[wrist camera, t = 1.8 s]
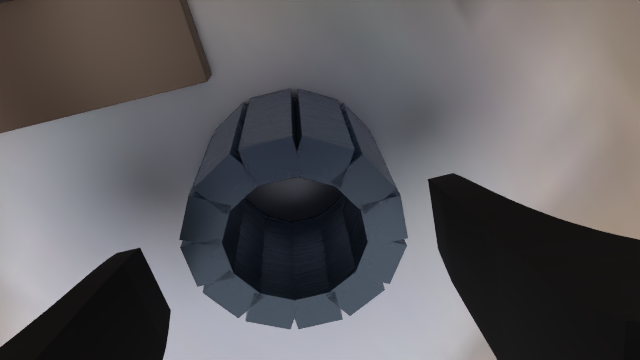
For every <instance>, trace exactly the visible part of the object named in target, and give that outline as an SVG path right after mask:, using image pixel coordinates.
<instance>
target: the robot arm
mask: <svg viewBox="0 0 640 360" xmlns="http://www.w3.org/2000/svg"><path fill="white" fill-rule="evenodd" d="M428 182H429V189H430V196H431V203H432V210H433V217H434V223H435V230H436V237H437V244H438V250H439V252H440V254H441V257H442V259H443V262H444V264H445V267H446V269H447V271H448V274H449V276H450V278H451V281H452V283H453V285H454V286H455V288H456V290H457V292H458V293H459V295H460V297H461V298H462V300H463V302H464V304H465V305H466V307H467V309H468V310H469V312H470V314H471V316H472V317H473V319H474V321H475V322H476V324H477V326H478V327H479V329H480V331H481V333H482V334H483V336H484V338H485V339H486V341H487V343H488V344H489V346H490V348H491V349H492V351H493V353H494V355H495V356H496V358H497V360H640V240H638V239H633V238H629V237H624V236H619V235H615V234H611V233H607V232H603V231H599V230H595V229H592V228H588V227H585V226H581V225H578V224H574V223H571V222H568V221H565V220H562V219H559V218H556V217H553V216H550V215H547V214H545V213H542V212H539V211H537V210H534V209H532V208H529V207H526V206H524V205H522V204H519V203H517V202H515V201H512V200H510V199H508V198H505V197H503V196H501V195H499V194H497V193H495V192H492V191H490V190H488V189H486V188H484V187H482V186H480V185H478V184H476V183H474V182H472V181H470V180H468V179H465V178H463V177H461V176H459V175H457V174H454V173H452V174H448V175H444V176H439V177H435V178H431V179H428ZM170 312H171V310H170V308H169V306H168V304H167V302H166V300H165V298H164V296H163V294H162V292H161V290H160V288H159V286H158V284H157V281H156V279H155V277H154V275H153V273H152V271H151V269H150V267H149V265H148V263H147V261H146V259H145V257H144V255H143V253H142V251H141V249H140V248H137V249H133V250H128V251H124V252H120V253H116V254H115V255H113V256H112V257H110V258H109V259H107V260H106V261H105V262H103V263H102V264H101V265H100V266H98V267H97V268H96V269H95V270H93V271H92V272H91V273H90V274H89V275H87V276H86V277H85V278H84V279H83V280H82V281H80V282H79V283H78V284H77V285H76V286H75V287H73V288H72V289H71V290H70V291H69V292H68V293H66V294H65V295H64V296H63V297H62V298H61V299H59V300H58V301H57V302H56V303H55V304H54V305H52V306H51V307H50V308H49V309H48V310H46V311H45V312H44V313H43V314H41V315H40V316H39V317H38V318H36V319H35V320H34V321H33V322H32V323H30V324H29V325H28V326H27V327H25V328H24V329H23V330H22V331H20V332H19V333H18V334H17V335H15V336H14V337H13V338H12V339H10V340H9V341H8V342H6V343H5V344H4V345H3V346H1V347H0V360H163V356H164V353H165V349H166V343H167V337H168V330H169V321H170Z"/></svg>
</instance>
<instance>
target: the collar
mask: <svg viewBox="0 0 640 360" xmlns="http://www.w3.org/2000/svg"><path fill="white" fill-rule="evenodd" d="M293 177H300V178H304V179H308V180H312V181H316V182H320V183H324V184H328V185H333V186H335V187H336V188H338V189H339V190H340V191H341V192H342V194H341V197H340V199H339V200H338V201H337V202H335V203H334V204H333V205H332V206H331V207H330V208H328V209H327V210H326V211H325V212H324V213H322V214H321V215H320V216H317V217H313V218H309V219H305V220H300V221H296V222H289V221H285V220H280V219H276V218H272V217H267V216H265V215H264V214H263V213H261V212H260V211H259V210H258V209H257V208H256V207H254V206H253V205H252V204H251V203H250V202H248V201H247V200H246V199H245V197H246V196H247V195H248V194H249V193H250V192H251V191H252V190H254V189H255V188H256V187H257V186H260V185H264V184H268V183H272V182H276V181H281V180H285V179H289V178H293ZM406 238H408V236H407V230H406V225H405V219H404V213H403V208H402V202H401V196H400V194H399V192H398V190H397V187H396V185H395V183H394V181H393V179H392V177H391V175H390V173H389V170H388V168H387V166H386V164H385V162H384V160H383V158H382V156H381V153H380V151H379V149H378V147H377V145H376V143H375V141H374V138H373V137H372V135H371V133H370V131H369V130H368V129H367V128H366V127H365V125H364V124H363V123H362V122H361V121H360V120H359V119H358V118H357V117H356V116H355V115H354V114H353V113H352V112H351V111H350V110H349V109H348V108H347V107H346V106H345V104H344V103H343V104H342V105H341V106H339V103H338V100H337V99H333V98H329V97H326V96H322V95H319V94H315V93H312V92H308V91H304V90H301V89H298V90H297V93H296V97H295V100H294V101H293V97H292V93H291V89H286V90H282V91H278V92H274V93H270V94H266V95H262V96H258V97H254V98H250V101H249V105H248V106H247V105H246V104H245V103H244V102H243V103H242V104H241V105H240V106H239V107H238V108H237V109H236V110H235V111H234V112H233V113H232V114H231V115H230V116H229V117H228V118H227V119H226V120H225V121H224V122H223V123H222V124H221V125H220V126H219V127H218V128H217V129H216V130H215V133H214V135H212V138H211V140H210V143H209V145H208V148H207V151H206V153H205V156H204V158H203V161H202V163H201V166H200V168H199V171H198V173H197V176H196V178H195V181H194V183H193V186H192V188H191V191H190V194H189V196H188V201H187V206H186V211H185V215H184V220H183V225H182V230H181V234H180V239H179V240H183V241H182V244H181V247H180V248H181V250H182V253H183V255H184V257H185V259H186V262H187V264H188V266H189V268H190V271H191V273H192V275H193V277H194V280H195V282H196V284H197V287H198V286H202V285H204V288H203V293H204V294H205V295H207V296H208V297H209V298H211V299H212V300H214V301H215V302H216V303H218V304H219V305H221V306H222V307H223V308H225V309H226V310H228V311H229V312H230V313H232V314H233V315H235V316H236V317H237V318H239V317H240V316H241V315H243V314H244V313H245V312H246V311H247V314H246V321H247V322H253V323H258V324H264V325H269V326H275V327H280V328H285V329H291V326H292V323H293V320H294V318H295V320H296V323H297V326H298V329H302V328H306V327H310V326H315V325H319V324H324V323H328V322H333V321H337V320H342V312H341V309H342V310H343V311H344V312H346V313H347V314H348V315H349V316H351V315H352V314H353V313H355V312H356V311H357V310H359V309H360V308H361V307H363V306H364V305H365V304H367V303H368V302H369V301H370V300H372V299H373V298H374V297H376V296H377V295H378V294H380V293H381V292H382V291H384V290H385V289H384V285H383V282H384V283H389V284H390V282H391V280H392V278H393V275H394V273H395V271H396V269H397V266H398V264H399V262H400V260H401V257H402V255H403V253H404V251H405V249H406V246H407V245H406V242H405V240H404V239H406Z"/></svg>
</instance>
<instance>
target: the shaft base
mask: <svg viewBox="0 0 640 360" xmlns="http://www.w3.org/2000/svg"><path fill="white" fill-rule="evenodd" d="M210 76H211V72H210V69H209V66H208V63H207V60H206V57H205V54H204V51H203V48H202V45H201V42H200V39H199V37H198V34H197V31H196V28H195V25H194V22H193V19H192V16H191V13H190V10H189V7H188V4H187V1H186V0H0V133H3V132H7V131H11V130H15V129H19V128H23V127H27V126H31V125H35V124H39V123H43V122H47V121H51V120H55V119H59V118H63V117H67V116H71V115H75V114H79V113H83V112H87V111H91V110H95V109H99V108H103V107H107V106H111V105H115V104H119V103H123V102H127V101H132V100H136V99H140V98H144V97H148V96H152V95H156V94H160V93H164V92H168V91H172V90H176V89H180V88H184V87H188V86H192V85H196V84H200V83H204V82H207V81H208V80H209V78H210Z"/></svg>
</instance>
